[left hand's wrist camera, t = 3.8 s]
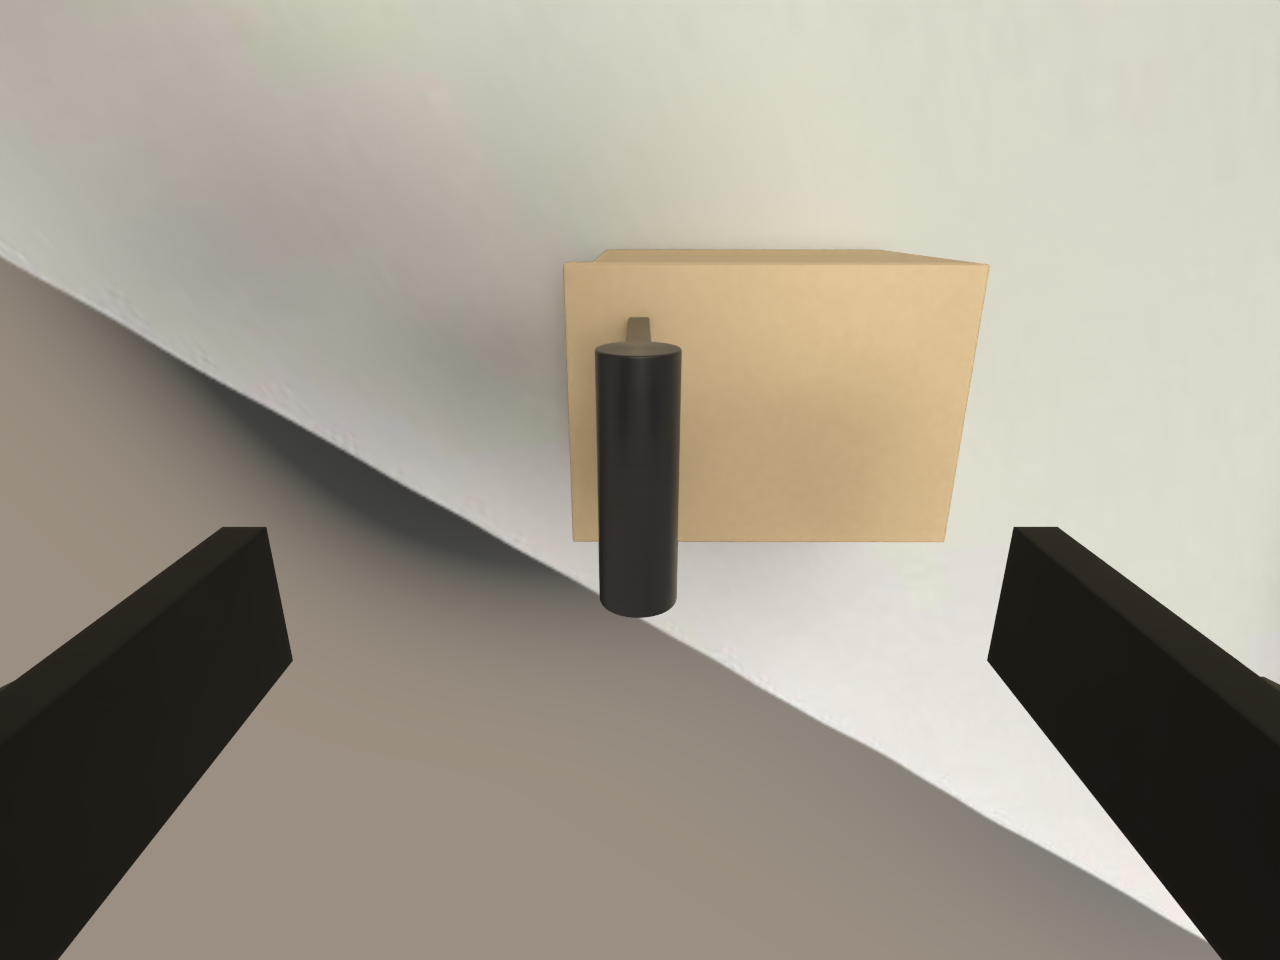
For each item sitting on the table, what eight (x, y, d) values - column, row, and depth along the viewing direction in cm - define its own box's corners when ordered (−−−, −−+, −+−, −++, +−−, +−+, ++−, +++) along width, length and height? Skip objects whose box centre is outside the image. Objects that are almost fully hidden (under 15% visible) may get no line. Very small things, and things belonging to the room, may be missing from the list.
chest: (608, 449, 37) (597, 528, 28) (605, 249, 34) (591, 261, 24) (857, 449, 37) (931, 529, 28) (880, 249, 34) (973, 262, 24)
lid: (575, 529, 28) (546, 668, 19) (566, 261, 24) (526, 285, 16) (932, 529, 28) (1062, 669, 19) (974, 262, 24) (1156, 286, 16)
